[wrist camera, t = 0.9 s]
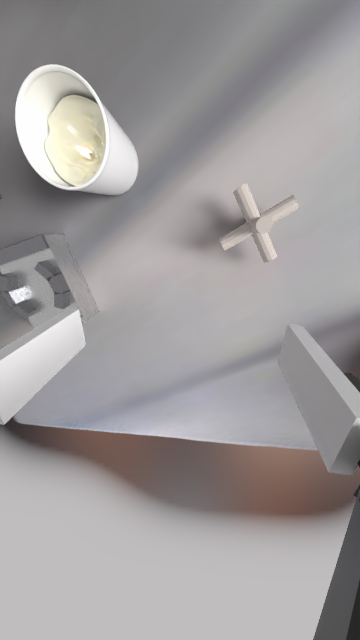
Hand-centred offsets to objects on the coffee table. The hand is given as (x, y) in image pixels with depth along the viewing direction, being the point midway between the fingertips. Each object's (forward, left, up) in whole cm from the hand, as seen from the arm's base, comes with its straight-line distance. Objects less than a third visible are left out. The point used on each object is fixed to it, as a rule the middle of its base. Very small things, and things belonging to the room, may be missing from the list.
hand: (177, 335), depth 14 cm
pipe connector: (-4, +9, -25) cm, 27 cm away
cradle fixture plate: (-4, -27, -25) cm, 37 cm away
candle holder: (-18, -9, -25) cm, 32 cm away
